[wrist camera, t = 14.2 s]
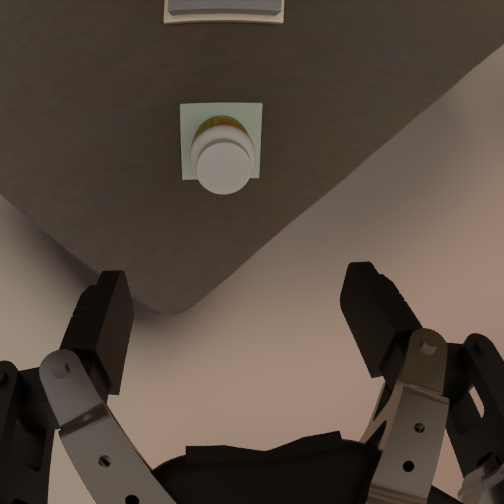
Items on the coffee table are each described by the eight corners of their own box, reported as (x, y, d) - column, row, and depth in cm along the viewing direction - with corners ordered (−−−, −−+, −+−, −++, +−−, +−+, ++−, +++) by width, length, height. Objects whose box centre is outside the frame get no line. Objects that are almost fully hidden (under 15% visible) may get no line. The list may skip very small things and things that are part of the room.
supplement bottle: (208, 105, 27) (205, 119, 19) (257, 128, 29) (275, 152, 21) (185, 153, 30) (173, 187, 22) (232, 173, 32) (240, 214, 24)
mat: (180, 103, 27) (179, 104, 27) (261, 102, 28) (262, 103, 28) (183, 178, 32) (182, 179, 31) (258, 176, 33) (259, 178, 32)
